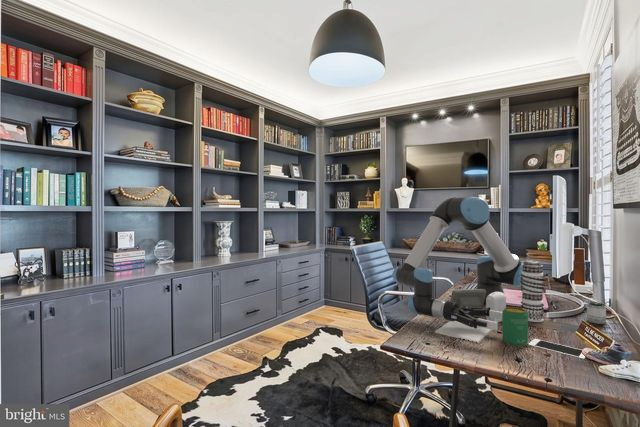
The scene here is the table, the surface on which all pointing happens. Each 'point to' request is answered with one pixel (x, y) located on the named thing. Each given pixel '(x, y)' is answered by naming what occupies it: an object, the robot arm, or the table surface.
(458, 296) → the grey translucent bin
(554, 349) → the cell phone
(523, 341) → the beverage can
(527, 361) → the table surface
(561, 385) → the table surface
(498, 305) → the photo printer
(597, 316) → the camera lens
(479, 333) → the desk mat
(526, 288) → the tower model
